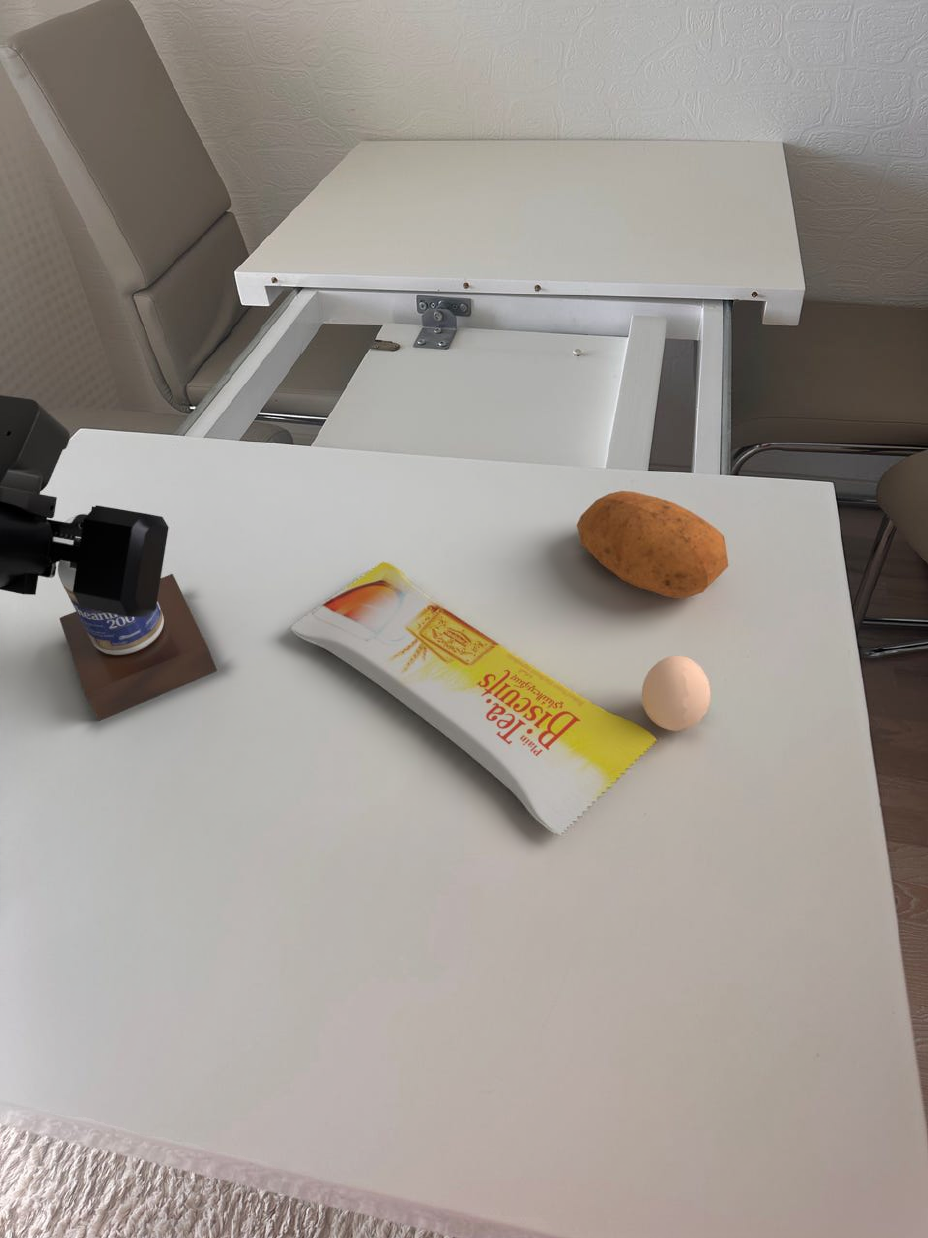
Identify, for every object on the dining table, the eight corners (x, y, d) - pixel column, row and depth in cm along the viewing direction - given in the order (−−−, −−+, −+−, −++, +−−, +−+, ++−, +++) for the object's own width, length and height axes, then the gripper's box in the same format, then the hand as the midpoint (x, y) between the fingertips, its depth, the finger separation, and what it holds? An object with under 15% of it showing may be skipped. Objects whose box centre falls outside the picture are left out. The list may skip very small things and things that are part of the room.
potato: (680, 637, 70) (672, 569, 65) (566, 561, 78) (551, 496, 73) (747, 583, 72) (745, 513, 67) (629, 514, 80) (619, 448, 75)
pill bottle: (82, 658, 69) (28, 557, 62) (107, 606, 73) (58, 506, 66) (153, 657, 68) (107, 556, 62) (174, 605, 72) (133, 504, 65)
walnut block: (99, 721, 69) (84, 694, 67) (73, 644, 75) (58, 617, 72) (217, 670, 71) (206, 643, 69) (183, 600, 77) (172, 573, 75)
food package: (661, 728, 61) (559, 828, 57) (658, 749, 63) (559, 848, 59) (382, 548, 76) (283, 617, 71) (386, 569, 78) (290, 637, 73)
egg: (701, 693, 66) (710, 637, 62) (710, 745, 63) (719, 690, 59) (636, 694, 66) (641, 639, 62) (642, 746, 63) (647, 691, 59)
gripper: (92, 405, 49) (244, 456, 64) (-181, 368, 54) (19, 424, 69) (60, 617, 49) (218, 619, 64) (-209, 561, 55) (-4, 575, 70)
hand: (109, 553), depth 67 cm, fingers closed on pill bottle, 5 cm apart
